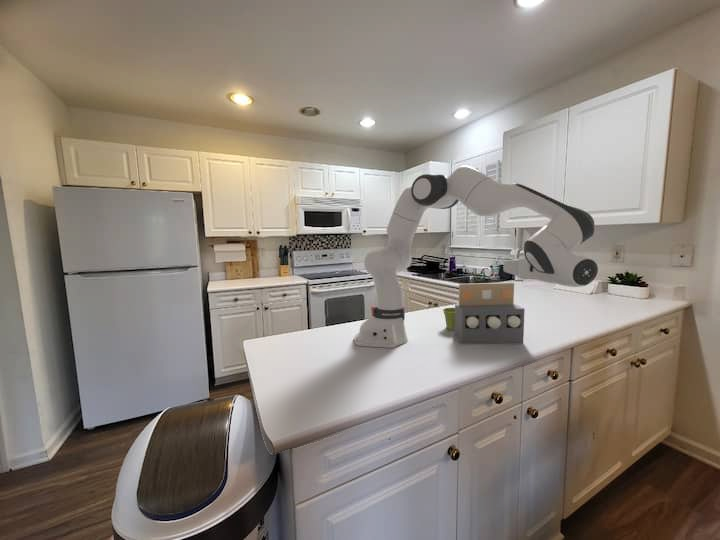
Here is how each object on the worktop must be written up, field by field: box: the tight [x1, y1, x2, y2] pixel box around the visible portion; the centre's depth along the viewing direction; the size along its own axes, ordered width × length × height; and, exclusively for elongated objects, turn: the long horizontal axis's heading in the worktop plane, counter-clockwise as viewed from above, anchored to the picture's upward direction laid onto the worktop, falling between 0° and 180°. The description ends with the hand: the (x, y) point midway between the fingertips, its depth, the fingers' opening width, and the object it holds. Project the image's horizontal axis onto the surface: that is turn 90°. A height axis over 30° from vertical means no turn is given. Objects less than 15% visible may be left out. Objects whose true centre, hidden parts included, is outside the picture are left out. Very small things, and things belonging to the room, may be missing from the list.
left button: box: [465, 315, 479, 328], centre depth 117 cm, size 4×4×4 cm
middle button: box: [486, 315, 501, 329], centre depth 116 cm, size 4×4×4 cm
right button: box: [507, 315, 520, 327], centre depth 117 cm, size 4×4×4 cm
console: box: [454, 282, 525, 345], centre depth 121 cm, size 24×10×23 cm, turn 88°
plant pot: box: [442, 307, 455, 331], centre depth 137 cm, size 9×9×9 cm
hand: (524, 265), depth 105 cm, fingers closed
